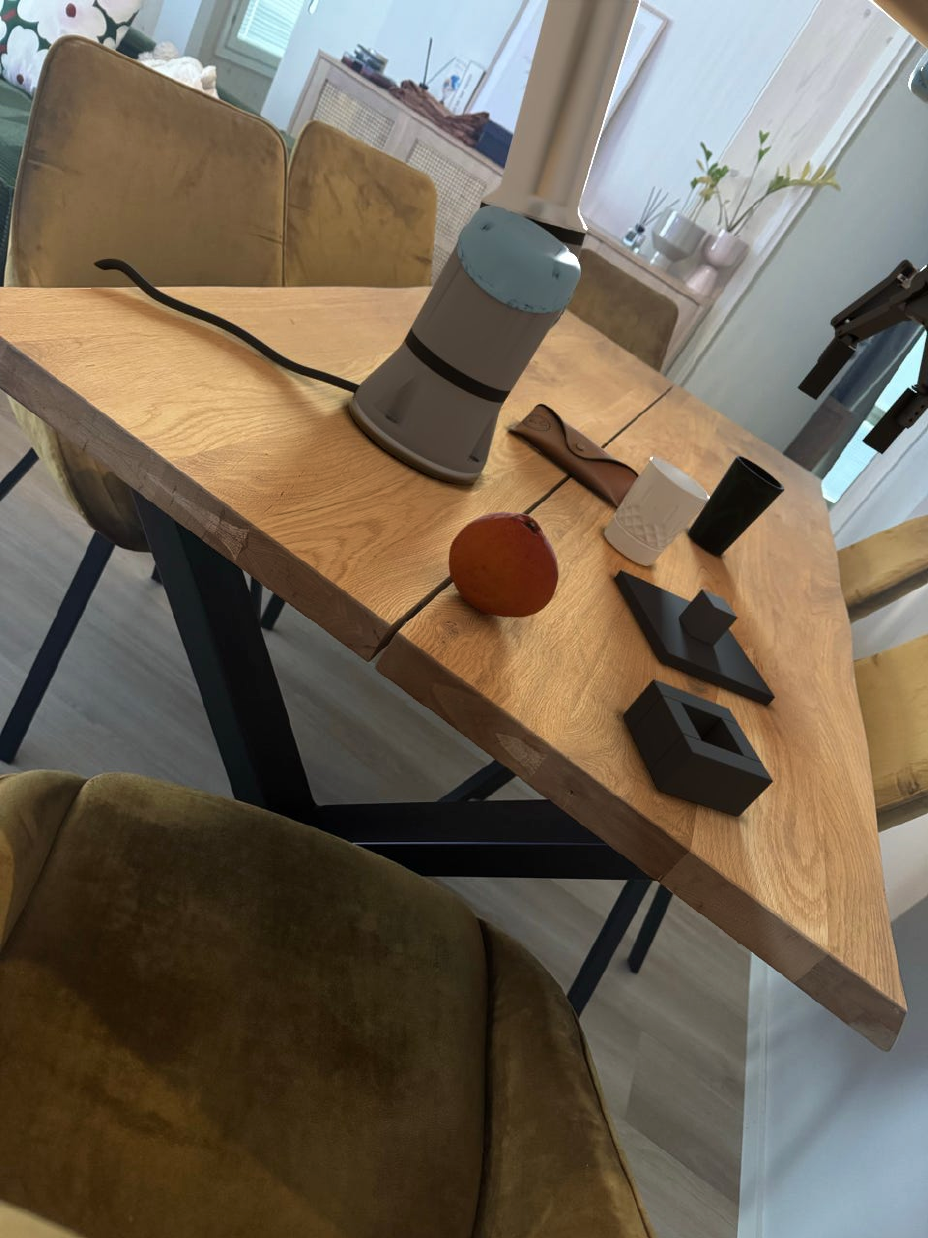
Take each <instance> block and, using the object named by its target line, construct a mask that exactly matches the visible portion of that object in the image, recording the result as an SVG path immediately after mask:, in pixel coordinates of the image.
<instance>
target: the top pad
mask: <svg viewBox="0 0 928 1238" xmlns="http://www.w3.org/2000/svg"><path fill="white" fill-rule="evenodd" d="M622 717H623V719H624V722H625V723H626V726H627V728H628V730H629V732H630V733H631V736H632V738H633V740H634V742H635V744H636V746H637V748H638V751H639V753H640V755H641V757H642V759H643V761H644V763H645V765H646V768H647V769H648V772H649V774H650V776H651V779H652V780H653V783H654V784H655V787H656V788H657V790H658V791H659V792H661V793H664V794H667V795H670V796H674V797H677V798H679V799H683V800H686V801H689V802H692V803H695V804H698V805H700V806H704V807H708V808H710V809H714V810H716V811H720V812H723V813H726V814H730V815H731V816H734V817H741V815H742V814H743V813H744V812H745V811H746V810H747V809H748V808H749V807H750V806H751V805H752V804H753V803H754V802H755V801H756V800H757V799H758V798H759V797H760V796H761V795H762V794H763V793H764V792H766V790H767V788H769V787H770V786H771V785H772V784H773V783H774V780H773V778H772V776H771V775H770V772H768V770H767V768H766V767H765V765H764V763H763V761H762V760H761V758H760V757H759V755H758V753H757V752H756V750H755V749H754V747H753V745H752V743H751V742H750V740H749V739H748V737H747V736H746V734H745V732H744V731H743V729H742V728H741V725H740V723H739V722H738V721H737V719H736V717H735V716H734V714H733V713H732V711H731V709H730V708H729V707H726V706H723V705H721V704H718V703H716V702H714V701H711V700H708V699H707V698H704V697H702V696H701V697H700V696H698V695H695V694H693V693H691V692H688V691H686V690H683V689H680V688H678V687H676V686H672V685H670V684H667V683H665V682H663V681H661V680H658V679H656V678H652V680H651V681H650V682H649V683H648V684H647V686H646V687H645V688H644V689H643V691H642V692H641V693H640V694H639V695H638V697H636V699H635V700H634V701H633V702H632V703H631V704H630V706H629V707H628V708H627V709H626V711H625V712H624V713H623V714H622Z"/></svg>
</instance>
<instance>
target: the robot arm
mask: <svg viewBox="0 0 928 1238" xmlns="http://www.w3.org/2000/svg"><path fill="white" fill-rule="evenodd" d="M641 1H642V0H547V3H546V7H545V10H544V15H543V19H542V22H541V26H540V30H539V33H538V38H537V42H536V45H535V49H534V54H533V57H532V61H531V65H530V68H529V73H528V77H527V81H526V84H525V88H524V92H523V95H522V101H521V103H520V107H519V111H518V114H517V119H516V122H515V126H514V131H513V134H512V138H511V142H510V146H509V150H508V153H507V158H506V161H505V164H504V165H505V166H504V170H503V172H502V176H501V180H500V183H499V185H498V186H497V188H495V189H494V190H492V191H490V192H489V193H487V194H485V195H484V196H482V198H481V201H480V204H479V209H477V210H476V211H475V212H474V213H473V215H472V217H471V218H470V219H469V221H468V222H467V223H466V224H465V225H464V227H463V228H462V229H461V230H460V231H459V234H458V238H457V241H456V244H455V246H454V248H453V250H452V252H451V254H450V255H449V257H448V259H447V261H446V263H445V264H444V267H443V268H442V270H441V272H440V274H438V277H437V279H436V280H435V282H434V285H432V286H433V287H432V288H431V290H430V291H429V294H428V295H427V297H426V298H425V301H424V303H423V305H422V307H420V310H419V312H418V313H417V315H416V317H415V319H414V320H413V323H412V325H411V327H410V329H409V330H408V332H407V334H406V336H405V337H404V339H403V341H402V342H401V344H400V346H399V347H398V348H397V349H396V350H395V351H394V352H393V353H392V354H390V355H389V356H388V358H386V359H385V360H384V361H383V362H382V363H381V364H380V365H379V366H377V368H376V369H374V371H372V372H371V373H370V374H369V375H368V376H367V377H366V378H365V379H363V381H361V383H360V384H359V383H356V382H354V381H350V380H348V379H345V378H342V377H340V376H337V375H334V374H331V373H328V372H326V371H322V370H319V369H316V368H312V367H310V366H306V365H303V364H301V363H298V362H296V361H293V360H292V359H290V358H288V357H286V356H285V355H282V354H281V353H279V352H277V351H276V350H275V349H273V348H272V347H270V346H269V345H268V344H266V343H264V342H263V341H262V340H261V339H260V338H258V337H256V336H254V335H253V334H252V333H250V332H248V331H247V330H245V328H242V327H240V326H239V325H237V324H235V323H233V322H231V321H230V320H228V319H225V318H223V317H221V316H219V315H216V314H215V313H212V312H210V311H207V310H205V309H202V308H199V307H197V306H194V305H192V304H188V303H186V302H184V301H181V300H179V299H176V298H175V297H172V296H170V295H168V294H166V293H165V292H163V291H161V290H160V289H158V288H156V287H155V286H154V285H152V284H151V283H150V282H149V281H147V280H146V279H145V277H144V276H143V275H142V274H141V273H140V272H139V271H137V270H136V269H135V268H134V267H133V266H132V265H131V264H129V263H128V262H126V261H123V260H121V259H118V258H104V259H100V260H97V261H95V262H93V265H94V266H95V267H96V268H98V269H100V270H103V271H111V270H114V271H119V272H121V273H123V274H124V275H125V276H126V277H128V278H129V280H131V281H132V283H134V284H135V285H136V286H137V287H138V288H139V289H140V290H141V291H142V292H143V293H144V294H146V295H147V296H148V297H149V298H151V299H152V300H154V301H156V302H158V303H159V304H162V305H164V306H165V307H167V308H170V309H172V310H175V311H177V312H179V313H181V314H183V315H187V316H189V317H192V318H195V319H197V320H200V321H203V322H205V323H208V324H210V325H213V326H215V327H217V328H219V329H221V330H223V331H225V332H226V333H229V334H231V335H233V336H235V337H236V338H238V339H240V340H241V341H242V342H244V343H246V344H248V345H249V346H250V347H252V348H253V349H255V350H256V351H257V352H259V353H260V354H262V355H263V356H264V357H266V358H267V359H269V360H271V362H274V363H275V364H277V365H279V366H280V367H282V368H284V369H286V370H287V371H290V372H292V373H294V374H297V375H300V376H303V377H306V378H310V379H312V380H316V381H320V382H322V383H325V384H328V385H330V386H333V387H337V388H339V389H342V390H344V391H347V392H350V393H352V396H351V398H350V400H349V402H348V410H349V413H350V416H351V417H352V418H353V420H354V422H355V423H356V424H357V426H358V427H359V428H360V429H361V430H362V431H363V432H364V433H365V435H367V436H368V438H370V439H371V440H372V441H374V443H376V444H377V445H378V446H379V447H380V448H382V449H383V450H385V451H386V452H388V453H389V454H391V455H392V456H394V457H395V458H397V459H398V460H400V461H401V462H403V463H404V464H406V465H408V466H410V467H412V468H414V469H415V470H417V471H419V472H421V473H424V474H426V475H428V476H430V477H433V478H436V479H437V480H441V481H443V482H448V483H452V484H457V485H470V484H473V483H475V482H476V481H477V480H478V479H479V478H480V476H481V474H482V472H483V471H484V469H485V466H486V465H487V462H488V459H489V455H490V451H491V447H492V443H493V439H494V436H495V431H496V428H497V423H498V419H499V416H500V411H501V409H502V407H503V405H505V402H506V400H507V398H508V397H509V395H510V394H511V393H512V391H513V389H514V388H515V386H516V384H517V383H518V381H520V380H519V379H520V378H521V376H522V375H523V373H524V371H525V370H526V368H527V367H528V365H529V364H530V362H531V360H532V359H533V357H534V356H535V354H536V352H537V351H538V349H539V348H540V345H541V344H542V342H543V341H544V340H545V338H546V337H547V335H548V333H549V332H550V330H551V329H552V328H553V327H554V326H555V325H556V324H557V323H558V322H559V321H560V320H561V317H562V316H563V315H564V313H565V311H566V310H567V307H568V305H569V303H570V301H571V300H572V298H573V296H574V294H575V289H576V287H577V286H578V283H579V281H580V279H581V274H582V273H581V272H582V270H581V265H580V262H579V258H580V255H581V252H582V248H583V244H584V242H585V238H586V236H587V230H588V228H587V226H586V224H585V222H584V220H583V218H582V216H581V214H580V206H581V202H582V199H583V194H584V192H585V188H586V185H587V182H588V179H589V175H590V172H591V169H592V165H593V161H594V159H595V155H596V151H597V149H598V145H599V143H600V142H599V141H600V138H601V135H602V131H603V128H604V125H605V121H606V118H607V115H608V111H609V108H610V104H611V101H612V98H613V94H614V91H615V88H616V84H617V81H618V77H619V74H620V70H621V68H622V64H623V62H624V59H625V58H624V57H625V54H626V51H627V47H628V44H629V41H630V38H631V34H632V32H633V27H634V25H635V22H636V21H635V20H636V17H637V14H638V11H639V7H640V4H641ZM869 1H870V2H871V3H872V4H873V5H874V6H876V7H877V8H878V9H879V10H880V11H881V12H883V13H884V14H885V15H886V16H888V17H889V18H890V19H891V20H892V21H893V22H895V24H897V25H898V26H899V27H900V28H901V29H903V30H904V31H905V32H906V33H907V34H909V36H911V37H912V38H913V39H914V40H915V41H916V42H918V43H919V44H920V45H922V46H923V47H924V49H926V51H925V52H924V53H923V55H922V56H921V58H920V59H919V61H918V62H917V64H916V66H915V67H914V69H913V70H912V73H911V74H910V77H909V81H908V88H909V91H910V92H911V93H912V94H913V95H914V96H915V97H917V98H918V99H919V100H920V101H922V103H924V105H926V106H927V107H928V0H869ZM847 320H848V321H847ZM903 322H907V323H908V322H915V324H918V325H920V326H923V327H924V330H925V332H926V336H925V341H924V346H923V351H922V357H921V360H920V366H919V372H918V377H917V382H916V383H915V384H912V385H911V387H908V386H907V388H905V390H904V391H903V392H902V393H901V394H900V395H899V396H898V398H897V399H896V401H895V402H894V403H893V404H892V405H891V406H890V407H889V408H888V410H887V411H886V412H885V413H884V415H882V417H881V418H880V419H879V420H878V421H877V422H876V424H875V425H874V426H873V427H872V428H871V429H870V431H869V432H868V433H867V434H866V436H865V437H863V439H862V440H861V442H863V444H865V445H866V446H868V447H869V448H871V449H873V450H874V451H875V452H878V453H879V454H881V455H882V456H883V455H884V454H885V452H886V451H887V450H888V449H889V448H890V447H891V446H892V445H893V443H894V442H895V441H896V440H897V439H898V437H900V435H901V434H902V433H903V432H904V430H906V429H907V430H908V429H911V428H912V427H913V426H914V425H915V424H916V423H917V421H918V420H919V419H920V418H921V417H922V416H923V415H924V413H926V411H927V410H928V263H927V264H926V265H925V266H924V267H923V268H922V269H920V268H919V267H917V266H916V265H915V264H913V263H912V262H911V261H910V260H908V259H904V260H901V261H900V263H898V265H897V266H896V267H895V268H893V270H892V272H891V273H889V274H888V276H887V277H885V278H883V279H882V280H881V281H879V282H878V283H876V285H874V286H873V287H872V288H871V289H869V290H867V291H866V292H865V293H864V294H862V295H861V296H860V297H858V298H857V299H856V300H854V301H853V302H851V304H849V305H848V306H847V307H845V308H844V309H842V310H841V311H840V312H838V313H837V314H836V315H835V316H833V317H832V318H831V320H830V322H829V325H830V326H831V327H832V328H833V330H834V337H833V339H832V340H831V341H830V342H829V344H828V345H827V346H826V348H825V349H824V350H823V351H822V352H821V354H820V355H819V356H818V358H817V360H816V364H814V365H813V367H812V368H811V370H810V371H809V372H808V373H807V375H806V376H805V377H804V379H802V381H801V382H800V383H799V385H798V386H797V389H798V390H799V391H801V392H802V393H804V394H805V395H807V396H809V397H810V398H812V399H813V400H814V401H817V400H818V399H819V398H820V396H821V395H822V394H823V393H824V391H825V390H826V389H827V387H829V385H830V384H831V383H832V382H833V380H834V379H835V378H836V376H837V375H838V374H839V373H840V372H841V371H842V369H843V368H844V367H845V365H846V364H847V363H848V362H849V360H850V359H851V358H852V357H853V356H854V354H855V353H856V352H857V351H856V350H857V349H858V344H859V343H861V342H863V341H865V340H867V339H869V338H872V337H873V336H876V335H878V334H879V333H882V332H884V331H886V330H888V329H890V328H892V327H894V326H896V325H899V324H901V323H903Z"/></svg>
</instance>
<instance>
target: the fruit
mask: <svg viewBox="0 0 928 1238" xmlns="http://www.w3.org/2000/svg"><path fill="white" fill-rule="evenodd" d="M448 570H449V571H448V572H449V575H450V578H451V581H452V584H453V586H454V587H455V589H456V591H457V592H458V593H459V594H460V596H461V597H462V599H463V600H464V601H466V602H467V603H468V604H469V605H470V606H472V607H473V608H475V609H477V610H478V611H480V612H482V613H485V614H487V615H491V616H497V617H502V618H515V619H516V618H526V617H530V616H532V615H536V614H538V613H539V612H541V611H542V610H544V609H545V608H546V607H547V606H548V605H549V604H550V602H551V600H552V598H553V597H554V595H555V592H556V591H557V590H556V589H557V586H558V582H559V575H560V574H559V573H560V572H559V563H558V560H557V556H556V553H555V550H554V548H553V546H552V544H551V542H550V540H549V539H548V538H547V536H546V535H545V533H544V531H543V529H542V527H541V526H540V524H539V522H537V521H536V519H534V518H533V517H531V516H530V515H529V514H526V513H522V512H517V513H516V512H510V511H495V512H489V513H487V514H484V515H481V516H479V517H477V518H475V519H473V520H472V521H471V522H469V523H467V524H466V525H465V526H464V527H463V528H462V529H461V530H460V531H459V532H458V533H457V535H456V536H455V537H454V539H453V540H452V542H451V544H450V547H449V552H448Z"/></svg>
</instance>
